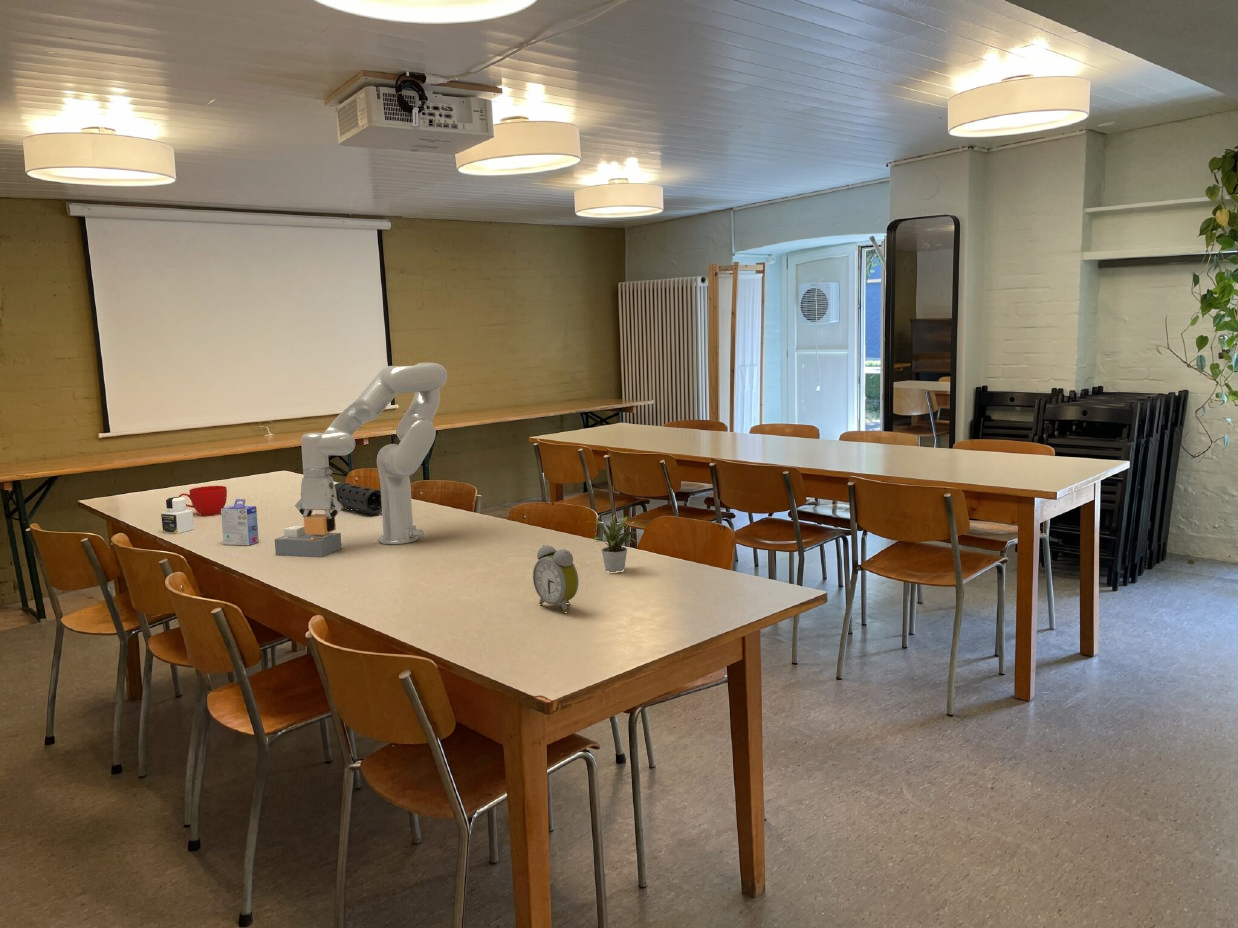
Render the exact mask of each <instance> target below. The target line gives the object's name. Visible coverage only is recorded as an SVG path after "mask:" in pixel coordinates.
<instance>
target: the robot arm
mask: <svg viewBox="0 0 1238 928" xmlns="http://www.w3.org/2000/svg"><path fill="white" fill-rule="evenodd" d="M447 381H448V372H447V370H446V368H445V367H444V366H443V365H442V364H439V363H437V362H419V363H416V364H415V365H400V366H398V365H389V366H385V367H383V368H382V369H381V370H380V371H379V372H378V373H377V374H376V376H375V377H374V378H373V379H372V380H371V382H370V383H369V384H368V385H367V387H366V388H365V389H364V390H363V391H362V393H361V394H360V395H359V396H358V397H357V398H356V399H355V400H354V401H353V402H352V403H351V404H349V405H348V406H347V407H346V408H345V409H343V411H341V413H339V414H338V415H337V417H336V418H334V420H333V421H332V422H331V423H330V424H329V426H327V428H326V430H325V431H324V432H308V433H304V434H303V435H301V438H300V444H301V445H300V446H301V456H302V458H301V459H302V470H303V471H302V473H303V477H302V479H301V483H300V499H299V500H298V501H297V502H296V504H295V505H294V507H295V508H296V509H297V510H298V511H299V513H300V515H302V518H303V519H304V518H305V517H308V516H311V515H313V511H324V514H326V515H327V517H328V519H327V531H328V532H329V533H331V532H330V531H332V530H334V528H335V524H336V519H335V520H334V517H335V518H336V516H337V515H338V514H339V513H340V511H341V510H342V509H343V508H344V507H343V506H342V505H341V504H340V503H339V502H338V501H337V496H336V490H335V481H334V479H333V476H330V475H332V474H333V470H332V469H330V464H329V463H330V462H329V456H347V455H349V454H351V453H352V452H353V451H354V449H355V447H356V440H355V437H354V436H353V434H355V432H356V431H358V429H359V428H361V427H362V426H364V425H365V424H367V423H369V422H372V421H374V420H375V419H377V418H378V417H379V416H381V414H382V413H383V412H384V411H385V410H386V408H387V406H388V405H390V403H391V402H392V401H393V400H394V399H395V397H396V396H397V395H398V394H411V393H412V394H413V393H414V395H413V399H412V401H411V402H410V405H409V406H408V408H407V410H406V411H405V413H404V415H403V417H402V418H401V420H400V421H399V423H398V425H397V428H396V430H395V431H396V436H397V438H398V440H399V443H398V444H396V443H389V444H386V445H385V446H384V445H383V446H382V447H381V448H380V450H379V451H378V454H377V457H376V467H377V473H378V477H379V478H378V479H379V486H380V491H381V505H382V512H381V518H382V519H381V521H382V535H381V536H379V537H378V543H381V544H383V545H403V544H404V545H405V544H409V543H413V542H415V541H417V540H419V537H423V536H424V534H425V533H424V529H418V528H417V525H416V524H413V523H414V522H413V508H412V507H413V503H412V487H411V486H412V485H411V479H410V476H413V475H414V474H415V473H416V472H417V470H418V469H419V468H420V466H421V465H422V463H423V461H424V460H425V458H426V456H427V454H428V453H429V452H430V449H431V448H432V447H433V444H434V441H435V439H436V436H437V435H436V434H437V431H436V430H437V429H436V427H435V425H434V423H433V420H434V417H435V416H436V414H437V412H438V410H439V407H440V403H441V391H440V389H441V388H444V386H445V385H446V383H447ZM334 531H335V530H334ZM332 532H333V531H332Z"/></svg>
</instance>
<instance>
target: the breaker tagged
mask: <svg viewBox="0 0 1238 928" xmlns="http://www.w3.org/2000/svg"><path fill="white" fill-rule="evenodd" d="M330 533H331V532H329V533H327V534H325V535H321V534H315V535H312V536H310V538H318V539H324V538H327V537H329V536H331V534H330Z"/></svg>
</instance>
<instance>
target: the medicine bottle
mask: <svg viewBox="0 0 1238 928" xmlns="http://www.w3.org/2000/svg"><path fill="white" fill-rule="evenodd" d="M165 504H166V511H162V512H161V513H160V515H161V526H162V533H165V534H175V535H179V534H183V533H186V532H190V531H193V530H194V529H195V527H194V525H195V524H194V515H193V514H194V513H193V510H192V509H187V506H186V504H187V502H186V498H185V497H183V496H181V497H179V496H173V497H168V498H167V499H166V500H165Z"/></svg>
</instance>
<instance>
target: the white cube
mask: <svg viewBox="0 0 1238 928" xmlns="http://www.w3.org/2000/svg"><path fill="white" fill-rule="evenodd" d="M283 532H284V535H285V537H293V538H298V537H301V536H303V535H306V534H305V528H304V525H302V526H301V525H298V526H297V525H292V526H289V527H286V528H284V529H283Z"/></svg>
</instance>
